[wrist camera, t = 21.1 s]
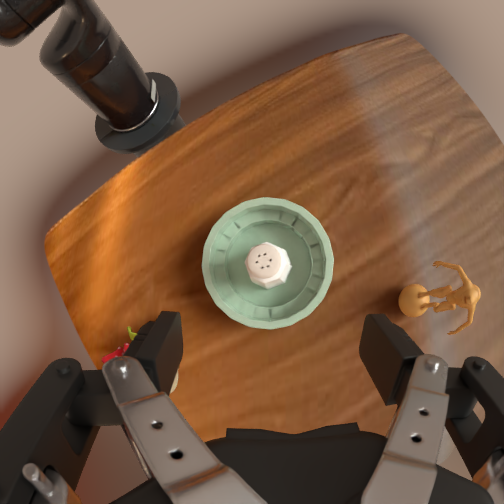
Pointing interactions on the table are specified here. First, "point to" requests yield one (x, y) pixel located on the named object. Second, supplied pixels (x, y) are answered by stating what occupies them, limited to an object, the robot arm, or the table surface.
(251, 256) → the pepper shaker
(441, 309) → the figurine
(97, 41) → the robot arm
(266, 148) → the table surface
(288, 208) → the bowl
